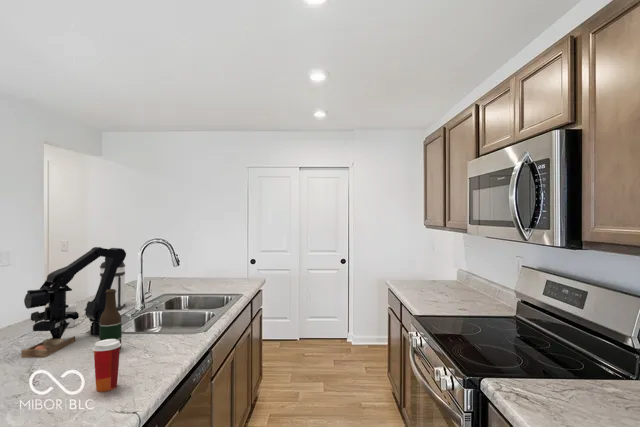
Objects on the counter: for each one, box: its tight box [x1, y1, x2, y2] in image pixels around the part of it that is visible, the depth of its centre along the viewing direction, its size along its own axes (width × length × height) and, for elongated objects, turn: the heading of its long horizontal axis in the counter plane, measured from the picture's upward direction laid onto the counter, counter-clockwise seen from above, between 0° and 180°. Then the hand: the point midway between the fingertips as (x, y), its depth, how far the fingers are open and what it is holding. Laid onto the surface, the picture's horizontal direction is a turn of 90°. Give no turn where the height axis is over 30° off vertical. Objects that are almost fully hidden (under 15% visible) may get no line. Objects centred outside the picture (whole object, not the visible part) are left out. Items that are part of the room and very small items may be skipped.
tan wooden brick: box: [42, 338, 65, 349], centre depth 147 cm, size 6×2×3 cm, turn 94°
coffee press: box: [99, 261, 126, 312], centre depth 213 cm, size 17×16×30 cm
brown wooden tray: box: [20, 336, 76, 358], centre depth 146 cm, size 9×18×4 cm, turn 1°
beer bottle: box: [98, 289, 123, 350], centre depth 147 cm, size 8×8×24 cm
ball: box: [35, 345, 47, 349], centre depth 141 cm, size 4×4×4 cm
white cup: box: [66, 303, 77, 329], centre depth 178 cm, size 8×8×10 cm
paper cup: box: [91, 339, 122, 393], centre depth 115 cm, size 8×8×14 cm
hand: (56, 342), depth 150 cm, fingers closed
